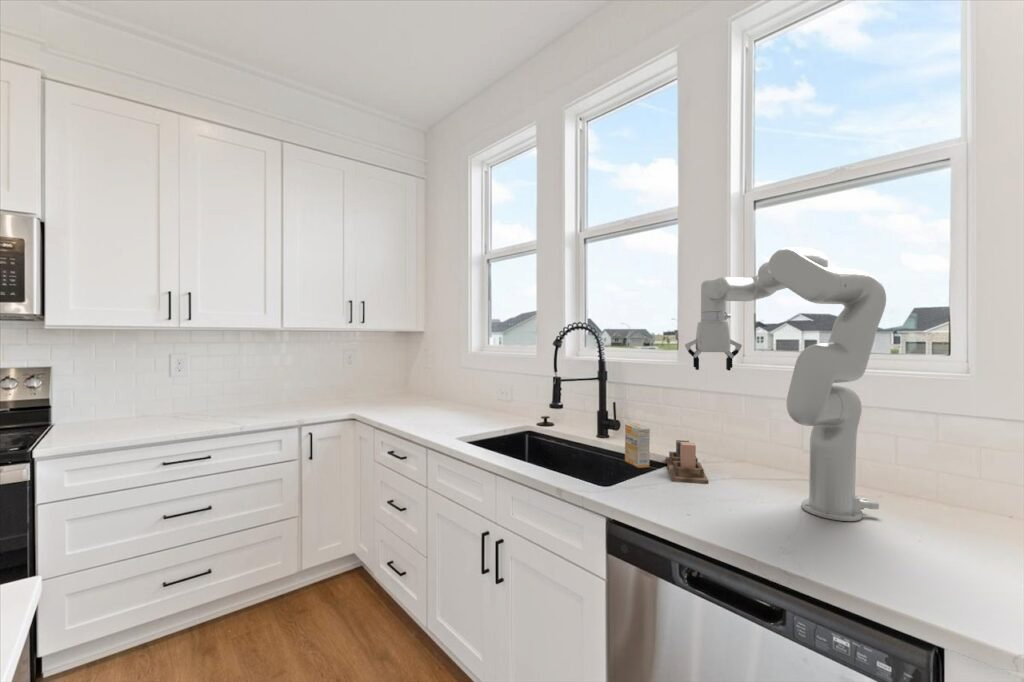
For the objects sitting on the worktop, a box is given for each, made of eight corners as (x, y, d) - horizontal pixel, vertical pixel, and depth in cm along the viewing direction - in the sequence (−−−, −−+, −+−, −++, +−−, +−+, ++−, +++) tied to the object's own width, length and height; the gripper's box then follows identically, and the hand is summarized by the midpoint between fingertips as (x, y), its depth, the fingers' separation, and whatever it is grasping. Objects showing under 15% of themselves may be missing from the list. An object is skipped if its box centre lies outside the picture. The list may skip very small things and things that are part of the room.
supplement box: (624, 461, 162) (624, 423, 161) (636, 460, 163) (636, 423, 163) (637, 468, 154) (637, 428, 154) (650, 467, 155) (650, 427, 155)
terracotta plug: (693, 471, 147) (694, 442, 147) (695, 474, 143) (695, 445, 143) (680, 470, 148) (680, 441, 148) (681, 473, 144) (681, 444, 144)
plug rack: (696, 461, 162) (696, 438, 161) (708, 483, 138) (708, 456, 138) (665, 459, 164) (665, 437, 164) (672, 481, 141) (672, 454, 140)
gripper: (738, 318, 156) (738, 369, 156) (683, 318, 160) (683, 368, 160) (744, 317, 148) (744, 371, 149) (686, 317, 152) (686, 370, 153)
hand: (712, 369), depth 154 cm, fingers open, 9 cm apart
